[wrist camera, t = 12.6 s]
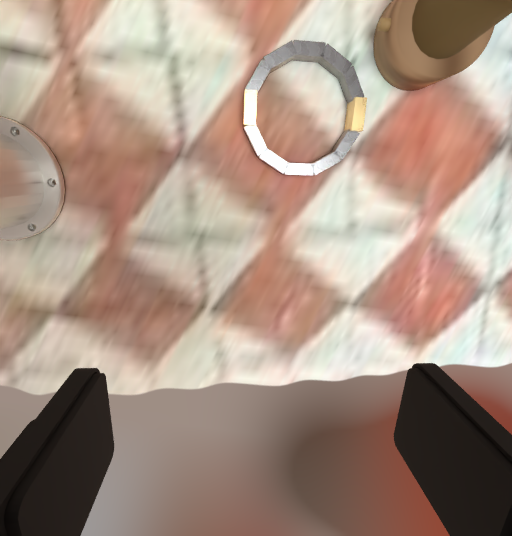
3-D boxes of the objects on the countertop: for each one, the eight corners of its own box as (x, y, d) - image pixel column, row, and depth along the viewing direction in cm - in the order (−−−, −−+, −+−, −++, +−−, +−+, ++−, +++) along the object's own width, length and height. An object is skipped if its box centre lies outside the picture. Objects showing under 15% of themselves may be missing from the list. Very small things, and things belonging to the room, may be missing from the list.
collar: (241, 172, 34) (242, 172, 32) (245, 42, 31) (246, 33, 29) (349, 177, 36) (356, 177, 33) (364, 52, 32) (374, 44, 30)
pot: (360, 87, 33) (382, 72, 28) (373, -17, 30) (400, -52, 25) (453, 93, 34) (490, 80, 29) (473, -7, 31) (518, -39, 26)
